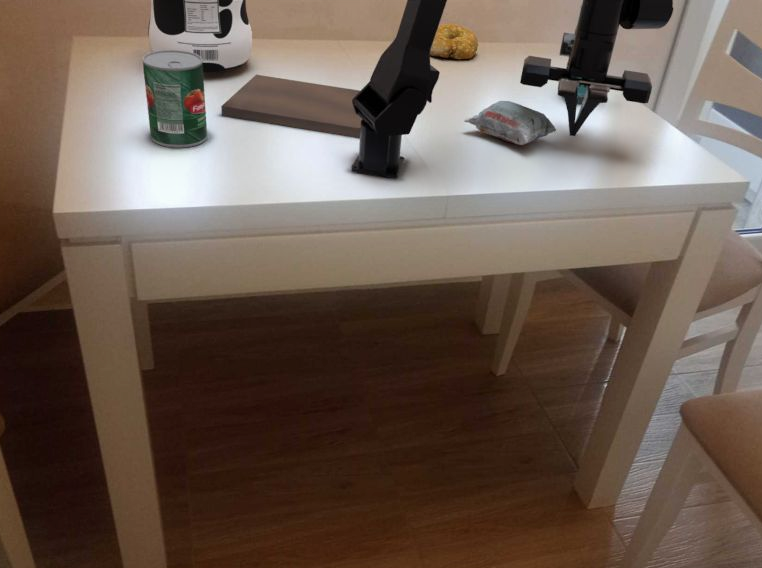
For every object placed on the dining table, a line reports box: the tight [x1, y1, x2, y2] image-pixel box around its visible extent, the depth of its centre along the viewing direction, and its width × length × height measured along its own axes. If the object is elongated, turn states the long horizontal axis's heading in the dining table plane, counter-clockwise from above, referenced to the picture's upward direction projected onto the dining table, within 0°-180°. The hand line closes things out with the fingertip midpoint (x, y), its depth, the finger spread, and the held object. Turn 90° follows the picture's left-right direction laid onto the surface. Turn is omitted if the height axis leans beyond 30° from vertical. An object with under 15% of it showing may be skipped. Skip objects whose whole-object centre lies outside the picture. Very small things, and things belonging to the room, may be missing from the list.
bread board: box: [220, 74, 362, 139], centre depth 123 cm, size 16×22×2 cm
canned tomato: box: [141, 50, 208, 149], centre depth 107 cm, size 8×8×11 cm
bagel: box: [430, 23, 479, 60], centre depth 153 cm, size 10×11×5 cm
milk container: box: [147, 0, 253, 74], centre depth 130 cm, size 17×17×18 cm
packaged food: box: [463, 100, 557, 146], centre depth 120 cm, size 9×12×5 cm
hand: (572, 135), depth 119 cm, fingers closed
